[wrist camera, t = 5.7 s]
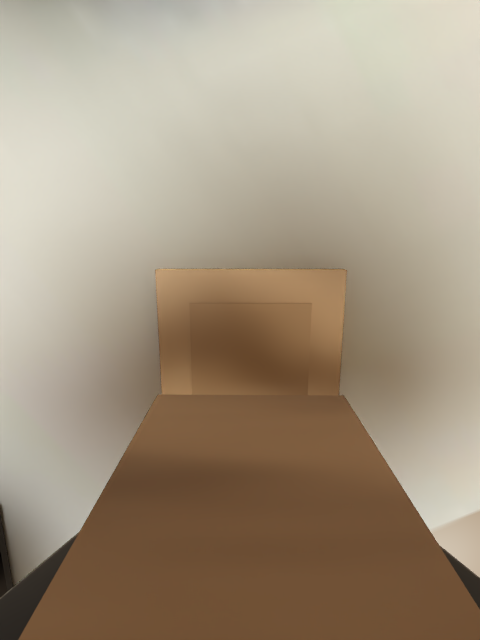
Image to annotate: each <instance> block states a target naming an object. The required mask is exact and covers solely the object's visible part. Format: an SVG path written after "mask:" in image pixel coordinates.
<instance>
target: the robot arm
mask: <svg viewBox="0 0 480 640" xmlns="http://www.w3.org/2000/svg"><path fill="white" fill-rule="evenodd" d="M78 534H79V533H77V534H76V535H75V536H74V537H73V538H71V539H70V540H69V541H68V542H67V543H65V544H64V545H63V546H62V547H61V548H59V549H58V550H57V551H56V552H55V553H53V554H52V555H51V556H50V557H49V558H47V559H46V560H45V561H44V562H43V563H41V564H40V565H39V566H38V567H37V568H35V569H34V570H33V571H32V572H31V573H29V574H28V575H27V576H26V577H25V578H23V579H22V580H21V581H20V582H19V583H17V584H16V585H15V586H14V587H13V584H12V578H11V573H10V567H9V561H8V556H7V550H6V544H5V538H4V533H3V527H2V521H1V516H0V640H18V639H19V638H20V636H21V634H22V632H23V630H24V629H25V627H26V625H27V623H28V622H29V620H30V618H31V616H32V615H33V613H34V611H35V609H36V608H37V606H38V604H39V602H40V601H41V599H42V597H43V595H44V594H45V592H46V590H47V588H48V587H49V585H50V583H51V581H52V580H53V578H54V576H55V574H56V572H57V571H58V569H59V567H60V565H61V564H62V562H63V560H64V558H65V557H66V555H67V553H68V551H69V550H70V548H71V546H72V544H73V543H74V541H75V539H76V537H77V536H78ZM440 548H441V549H442V551H443V552H444V554H445V556H446V557H447V559H448V560H449V562H450V563H451V565H452V567H453V568H454V570H455V571H456V573H457V574H458V576H459V578H460V579H461V581H462V582H463V584H464V585H465V587H466V589H467V590H468V592H469V593H470V595H471V596H472V598H473V600H474V601H475V603H476V604H477V606H478V607H479V609H480V578H479V577H478V576H477V575H476V574H474V573H473V572H472V571H470V570H469V569H468V568H467V567H466V566H464V565H463V564H462V563H461V562H459V561H458V560H457V559H456V558H455V557H453V556H452V555H451V554H450V553H448V552H447V551H446V550H445V549H443V548H442V547H441V546H440Z"/></svg>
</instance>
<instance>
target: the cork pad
mask: <svg viewBox="0 0 480 640" xmlns="http://www.w3.org/2000/svg"><path fill="white" fill-rule="evenodd" d="M155 275H156V294H157V313H158V332H159V351H160V369H161V388H162V394H166V395H339V382H340V367H341V352H342V336H343V321H344V306H345V291H346V275H347V270H345V269H157V270H155Z"/></svg>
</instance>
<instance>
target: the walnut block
mask: <svg viewBox="0 0 480 640" xmlns="http://www.w3.org/2000/svg"><path fill="white" fill-rule="evenodd" d="M18 640H480V609H479V607H478V606H477V604H476V603H475V601H474V600H473V598H472V596H471V595H470V593H469V592H468V590H467V589H466V587H465V585H464V584H463V582H462V581H461V579H460V578H459V576H458V574H457V573H456V571H455V570H454V568H453V567H452V565H451V563H450V562H449V560H448V559H447V557H446V556H445V554H444V552H443V551H442V549H441V548H440V546H439V544H438V543H437V541H436V540H435V538H434V537H433V535H432V533H431V532H430V530H429V529H428V527H427V526H426V524H425V522H424V521H423V519H422V518H421V516H420V515H419V513H418V511H417V510H416V508H415V507H414V505H413V504H412V502H411V500H410V499H409V497H408V496H407V494H406V493H405V491H404V489H403V488H402V486H401V485H400V483H399V482H398V480H397V478H396V477H395V475H394V474H393V472H392V471H391V469H390V467H389V466H388V464H387V463H386V461H385V459H384V458H383V456H382V455H381V453H380V452H379V450H378V448H377V447H376V445H375V444H374V442H373V441H372V439H371V437H370V436H369V434H368V433H367V431H366V430H365V428H364V426H363V425H362V423H361V422H360V420H359V419H358V417H357V415H356V414H355V412H354V411H353V409H352V408H351V406H350V404H349V403H348V401H347V400H346V398H345V397H344V396H343V395H166V394H158V395H157V397H156V399H155V400H154V402H153V404H152V406H151V407H150V409H149V411H148V413H147V414H146V416H145V418H144V420H143V421H142V423H141V425H140V427H139V428H138V430H137V432H136V434H135V435H134V437H133V439H132V441H131V442H130V444H129V446H128V448H127V449H126V451H125V453H124V455H123V456H122V458H121V460H120V462H119V464H118V465H117V467H116V469H115V471H114V472H113V474H112V476H111V478H110V479H109V481H108V483H107V485H106V486H105V488H104V490H103V492H102V493H101V495H100V497H99V499H98V500H97V502H96V504H95V506H94V507H93V509H92V511H91V513H90V514H89V516H88V518H87V520H86V522H85V523H84V525H83V527H82V529H81V530H80V532H79V534H78V536H77V537H76V539H75V541H74V543H73V544H72V546H71V548H70V550H69V551H68V553H67V555H66V557H65V558H64V560H63V562H62V564H61V565H60V567H59V569H58V571H57V572H56V574H55V576H54V578H53V580H52V581H51V583H50V585H49V587H48V588H47V590H46V592H45V594H44V595H43V597H42V599H41V601H40V602H39V604H38V606H37V608H36V609H35V611H34V613H33V615H32V616H31V618H30V620H29V622H28V623H27V625H26V627H25V629H24V630H23V632H22V634H21V636H20V638H19V639H18Z"/></svg>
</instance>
